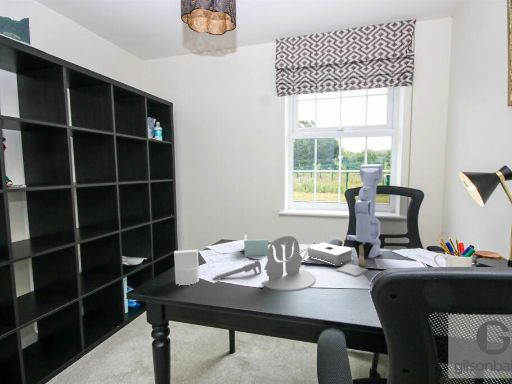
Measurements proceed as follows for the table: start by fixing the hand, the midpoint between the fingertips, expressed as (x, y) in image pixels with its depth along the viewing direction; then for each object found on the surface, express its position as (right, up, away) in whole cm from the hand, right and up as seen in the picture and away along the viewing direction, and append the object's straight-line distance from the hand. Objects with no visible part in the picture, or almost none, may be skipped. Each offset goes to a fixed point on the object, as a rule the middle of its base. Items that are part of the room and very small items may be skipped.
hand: (362, 258), depth 121 cm
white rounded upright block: (-74, -6, -12) cm, 75 cm away
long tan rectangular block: (0, -3, 0) cm, 3 cm away
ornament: (-32, -6, -16) cm, 36 cm away
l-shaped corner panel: (-47, -2, +24) cm, 52 cm away
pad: (-7, -4, -6) cm, 9 cm away
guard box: (-12, -2, +10) cm, 16 cm away
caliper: (-54, -6, -8) cm, 55 cm away
